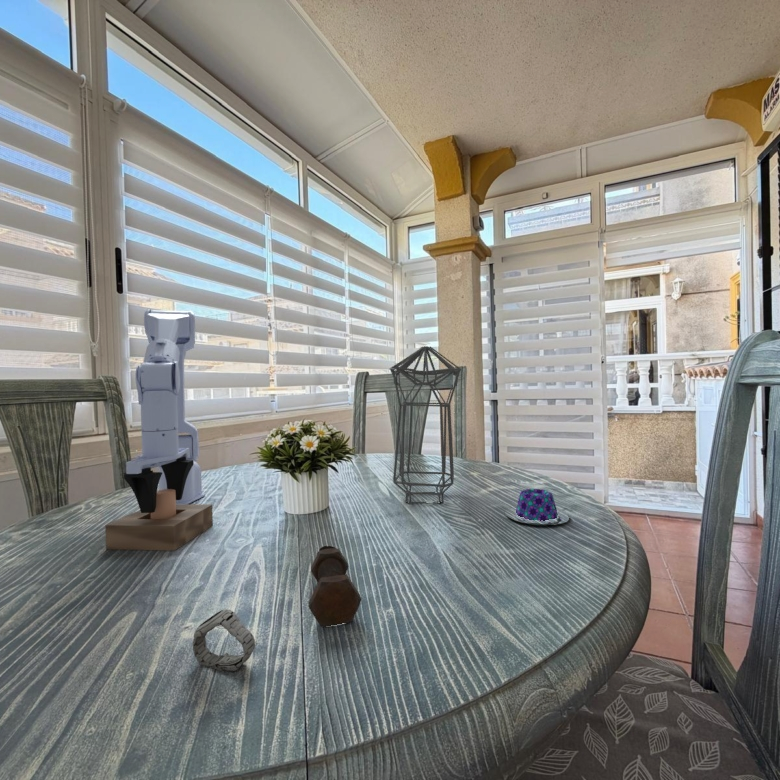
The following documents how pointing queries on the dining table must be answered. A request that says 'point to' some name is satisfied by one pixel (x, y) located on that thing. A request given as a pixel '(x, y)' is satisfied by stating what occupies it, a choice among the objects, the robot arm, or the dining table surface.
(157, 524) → the socket block
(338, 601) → the bolt
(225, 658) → the wristwatch
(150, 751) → the dining table surface
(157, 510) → the peg
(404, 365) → the geometric lantern
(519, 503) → the pudding
